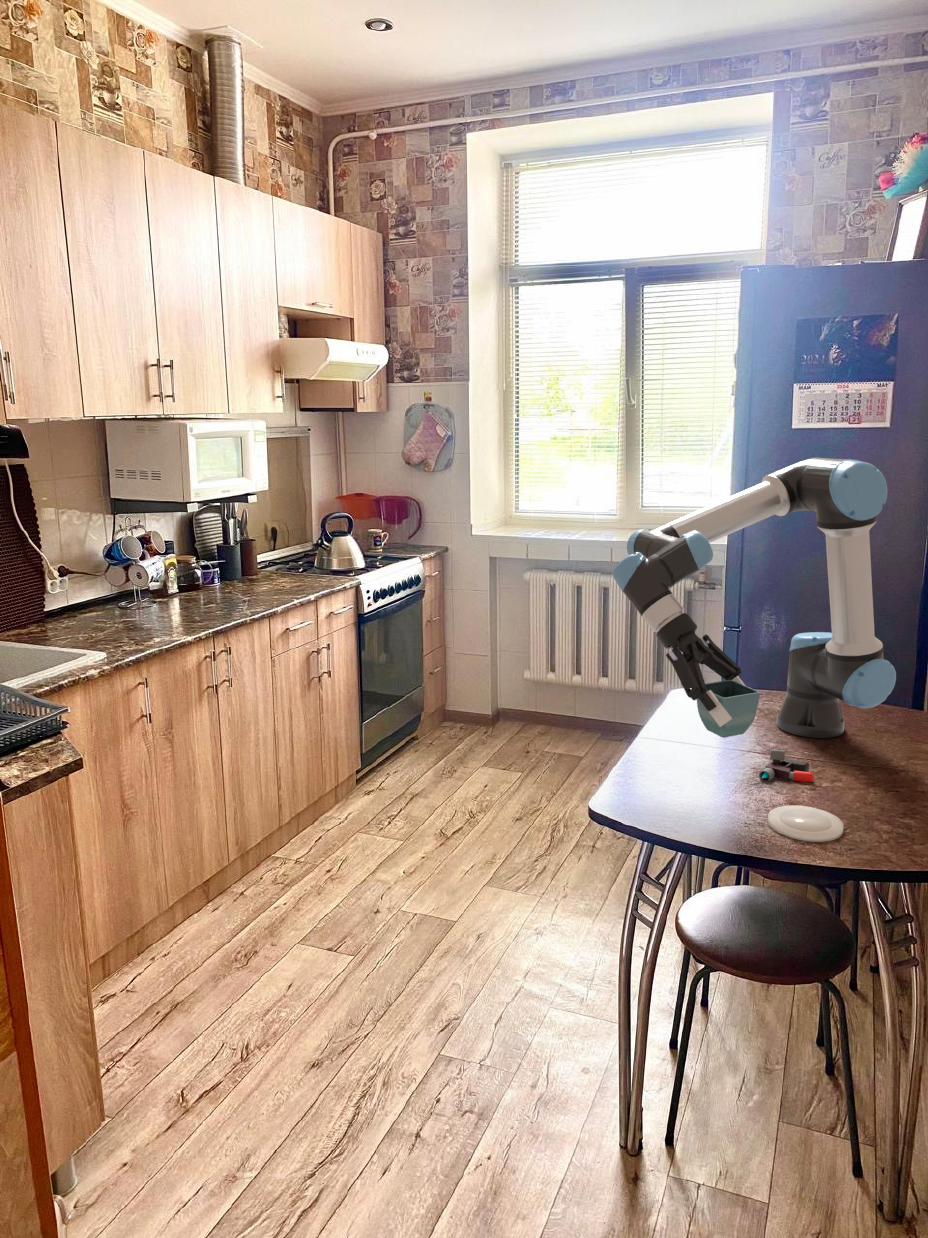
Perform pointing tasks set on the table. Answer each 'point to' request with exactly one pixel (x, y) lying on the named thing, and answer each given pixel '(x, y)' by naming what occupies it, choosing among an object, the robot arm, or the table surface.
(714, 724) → the flower pot
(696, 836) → the table surface
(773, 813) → the saucer
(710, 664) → the robot arm
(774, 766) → the toy gun
